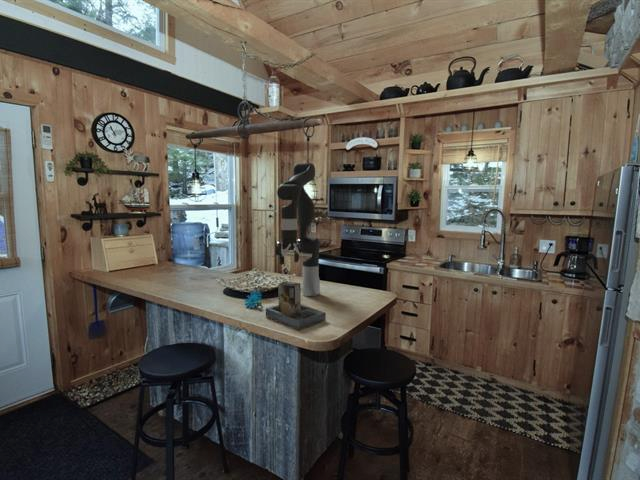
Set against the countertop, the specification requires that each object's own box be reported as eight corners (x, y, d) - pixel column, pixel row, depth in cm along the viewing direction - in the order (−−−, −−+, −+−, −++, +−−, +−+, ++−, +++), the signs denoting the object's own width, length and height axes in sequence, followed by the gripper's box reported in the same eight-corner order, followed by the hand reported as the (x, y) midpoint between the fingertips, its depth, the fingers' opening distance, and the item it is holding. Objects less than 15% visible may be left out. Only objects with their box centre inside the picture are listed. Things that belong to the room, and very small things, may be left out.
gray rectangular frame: (291, 308, 174) (291, 300, 173) (325, 321, 157) (325, 312, 156) (265, 316, 162) (265, 307, 162) (299, 330, 146) (299, 320, 145)
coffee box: (301, 315, 164) (301, 283, 162) (295, 320, 158) (295, 286, 156) (284, 313, 167) (284, 281, 165) (277, 317, 161) (277, 284, 159)
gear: (240, 302, 178) (253, 287, 181) (247, 308, 181) (259, 293, 185) (252, 310, 170) (265, 294, 173) (258, 316, 174) (271, 300, 177)
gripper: (295, 227, 165) (295, 260, 167) (271, 228, 155) (272, 264, 157) (306, 228, 160) (306, 262, 162) (282, 230, 149) (282, 266, 152)
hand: (289, 263), depth 159 cm, fingers open, 8 cm apart
